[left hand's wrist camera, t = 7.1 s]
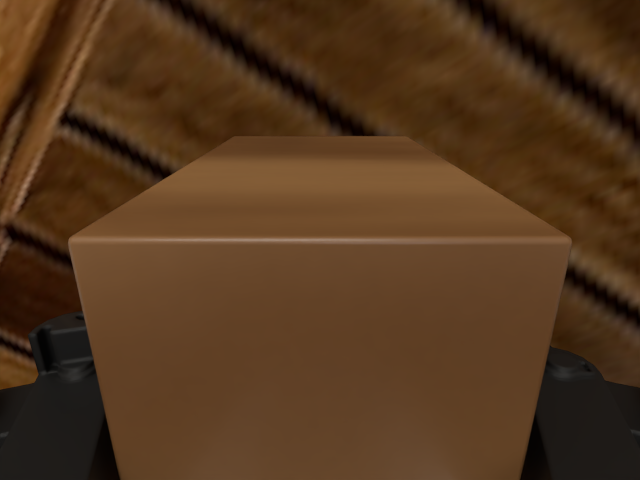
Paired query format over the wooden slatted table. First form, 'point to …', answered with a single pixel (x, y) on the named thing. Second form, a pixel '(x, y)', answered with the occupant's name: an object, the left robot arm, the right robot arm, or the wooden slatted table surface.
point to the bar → (320, 316)
